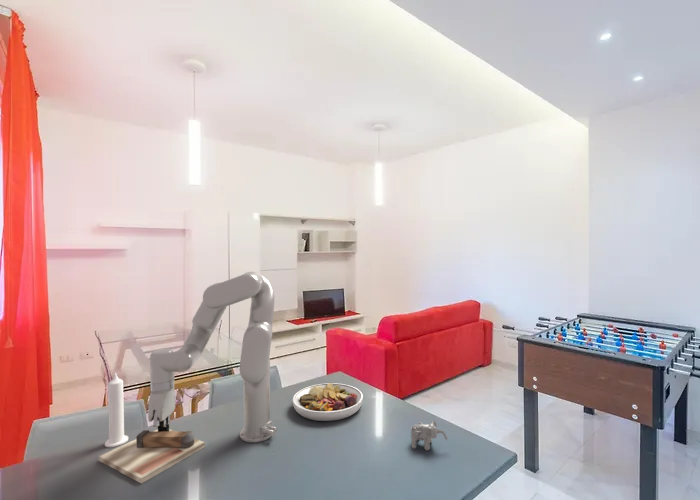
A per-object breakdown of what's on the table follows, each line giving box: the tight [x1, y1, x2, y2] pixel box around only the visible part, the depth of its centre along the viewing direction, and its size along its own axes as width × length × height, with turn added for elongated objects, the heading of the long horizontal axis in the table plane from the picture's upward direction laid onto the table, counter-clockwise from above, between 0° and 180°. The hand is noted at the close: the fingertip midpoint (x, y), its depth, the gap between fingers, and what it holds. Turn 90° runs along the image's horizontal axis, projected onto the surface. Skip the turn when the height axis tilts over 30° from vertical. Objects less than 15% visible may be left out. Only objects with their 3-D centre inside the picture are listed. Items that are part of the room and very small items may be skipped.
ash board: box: [98, 428, 206, 484], centre depth 120 cm, size 24×22×2 cm
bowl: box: [292, 382, 364, 422], centre depth 153 cm, size 30×30×8 cm
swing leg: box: [135, 429, 195, 448], centre depth 122 cm, size 19×4×4 cm, turn 88°
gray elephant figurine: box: [410, 420, 448, 452], centre depth 122 cm, size 9×12×8 cm
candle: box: [104, 372, 129, 448], centre depth 127 cm, size 7×7×25 cm
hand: (163, 436), depth 126 cm, fingers closed
